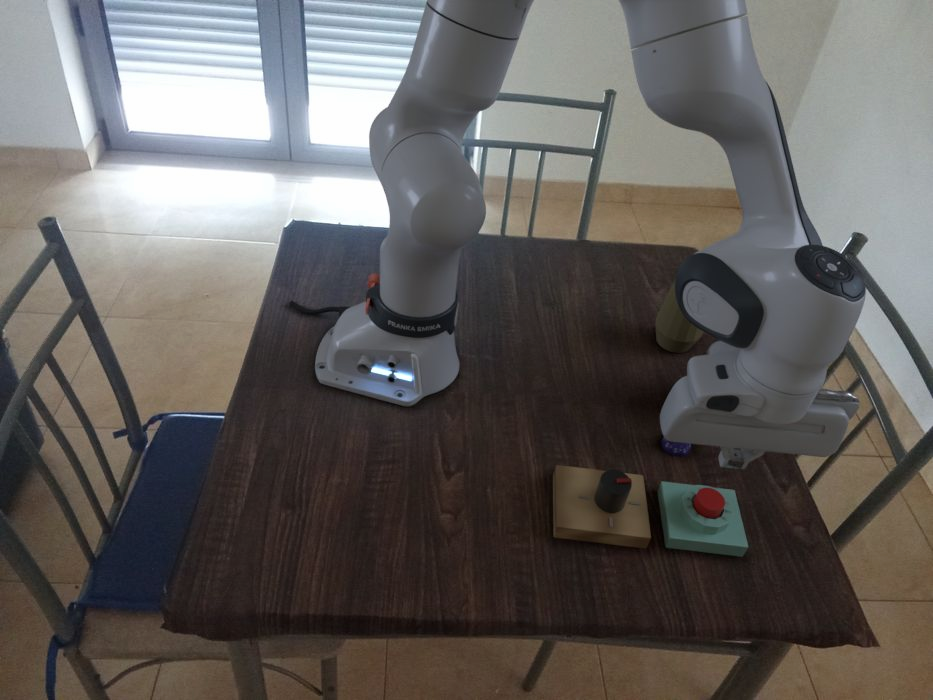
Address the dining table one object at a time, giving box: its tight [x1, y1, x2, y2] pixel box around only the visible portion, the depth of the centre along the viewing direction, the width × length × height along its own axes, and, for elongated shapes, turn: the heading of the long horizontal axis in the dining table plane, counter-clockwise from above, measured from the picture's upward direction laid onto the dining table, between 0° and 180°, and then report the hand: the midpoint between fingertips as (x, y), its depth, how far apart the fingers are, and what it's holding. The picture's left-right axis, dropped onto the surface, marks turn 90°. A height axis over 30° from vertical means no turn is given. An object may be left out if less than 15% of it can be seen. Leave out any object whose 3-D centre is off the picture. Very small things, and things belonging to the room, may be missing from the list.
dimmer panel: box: [552, 464, 652, 549], centre depth 94 cm, size 12×10×3 cm
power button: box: [693, 488, 725, 518], centre depth 92 cm, size 4×4×2 cm
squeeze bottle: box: [654, 280, 704, 354], centre depth 116 cm, size 8×8×18 cm
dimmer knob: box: [594, 469, 632, 513], centre depth 92 cm, size 4×4×4 cm
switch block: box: [657, 480, 749, 558], centre depth 94 cm, size 10×9×4 cm
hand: (730, 464), depth 87 cm, fingers closed
